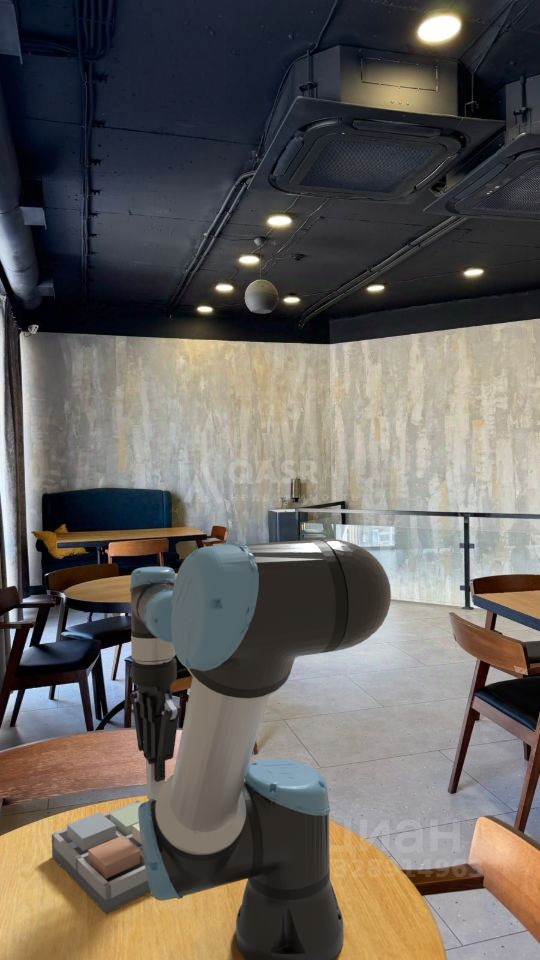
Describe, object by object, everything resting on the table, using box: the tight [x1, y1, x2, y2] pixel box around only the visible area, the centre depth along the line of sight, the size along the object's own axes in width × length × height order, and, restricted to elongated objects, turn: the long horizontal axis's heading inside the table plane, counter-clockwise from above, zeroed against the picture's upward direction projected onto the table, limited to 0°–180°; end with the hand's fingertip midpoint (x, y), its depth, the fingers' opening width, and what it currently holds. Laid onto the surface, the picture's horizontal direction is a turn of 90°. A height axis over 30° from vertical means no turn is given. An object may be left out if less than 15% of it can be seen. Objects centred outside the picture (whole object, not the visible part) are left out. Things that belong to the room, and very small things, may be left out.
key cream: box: [132, 823, 142, 845], centre depth 107 cm, size 6×6×2 cm
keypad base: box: [51, 800, 151, 915], centre depth 107 cm, size 20×17×4 cm
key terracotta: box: [88, 836, 140, 879], centre depth 102 cm, size 6×6×2 cm
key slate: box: [66, 812, 116, 851], centre depth 108 cm, size 6×6×2 cm
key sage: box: [110, 801, 141, 837], centre depth 113 cm, size 6×6×2 cm
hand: (156, 796), depth 108 cm, fingers closed
